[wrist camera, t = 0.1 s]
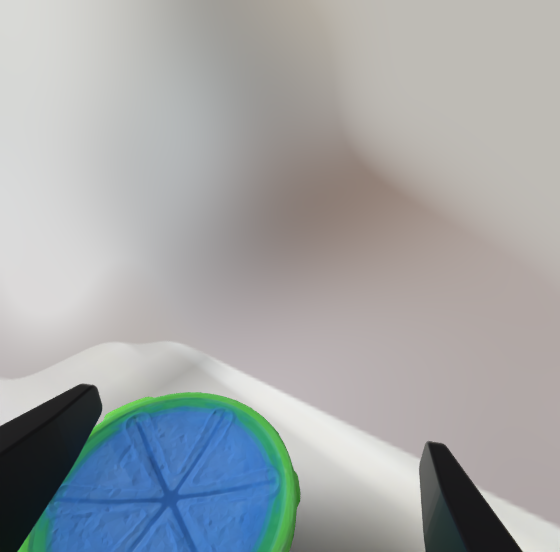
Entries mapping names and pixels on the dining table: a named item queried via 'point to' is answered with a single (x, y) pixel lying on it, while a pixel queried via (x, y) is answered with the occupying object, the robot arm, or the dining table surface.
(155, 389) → the dining table surface
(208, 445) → the snack cup
